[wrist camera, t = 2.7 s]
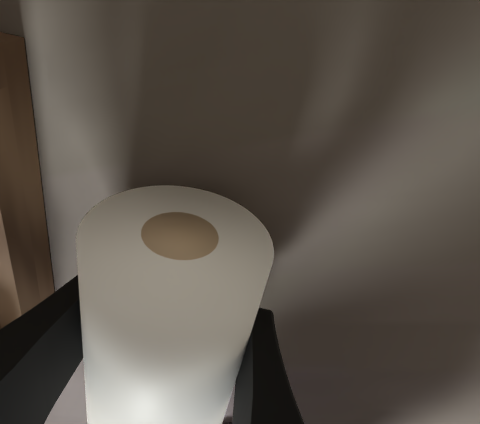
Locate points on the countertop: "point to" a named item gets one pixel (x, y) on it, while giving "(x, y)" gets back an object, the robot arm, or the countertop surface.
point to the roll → (167, 303)
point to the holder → (20, 192)
